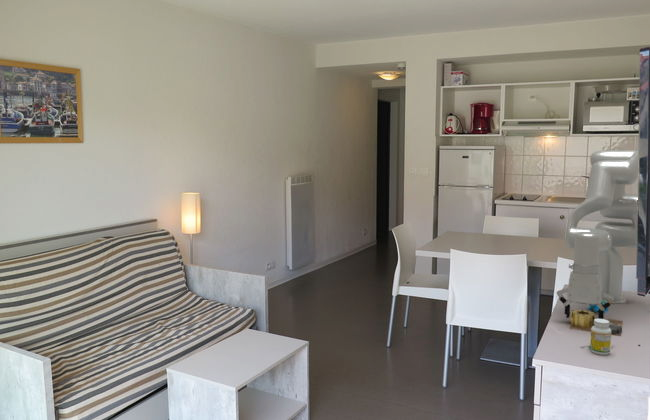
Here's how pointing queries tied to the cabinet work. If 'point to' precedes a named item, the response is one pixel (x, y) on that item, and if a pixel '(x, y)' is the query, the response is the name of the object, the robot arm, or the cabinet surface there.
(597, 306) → the gear
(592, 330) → the supplement bottle
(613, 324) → the gear board
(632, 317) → the cabinet surface
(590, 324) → the brass gear
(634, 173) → the robot arm
